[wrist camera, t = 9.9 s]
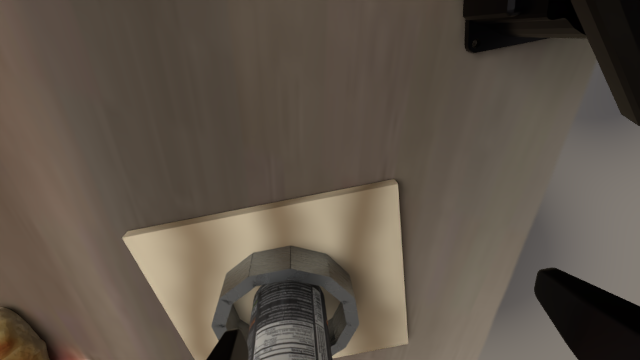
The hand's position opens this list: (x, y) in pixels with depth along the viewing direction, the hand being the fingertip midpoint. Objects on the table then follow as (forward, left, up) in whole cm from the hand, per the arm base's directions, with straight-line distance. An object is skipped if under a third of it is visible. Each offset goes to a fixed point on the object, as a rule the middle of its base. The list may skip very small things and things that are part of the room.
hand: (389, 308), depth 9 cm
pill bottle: (+6, +12, -12) cm, 18 cm away
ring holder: (+6, +12, -13) cm, 19 cm away
